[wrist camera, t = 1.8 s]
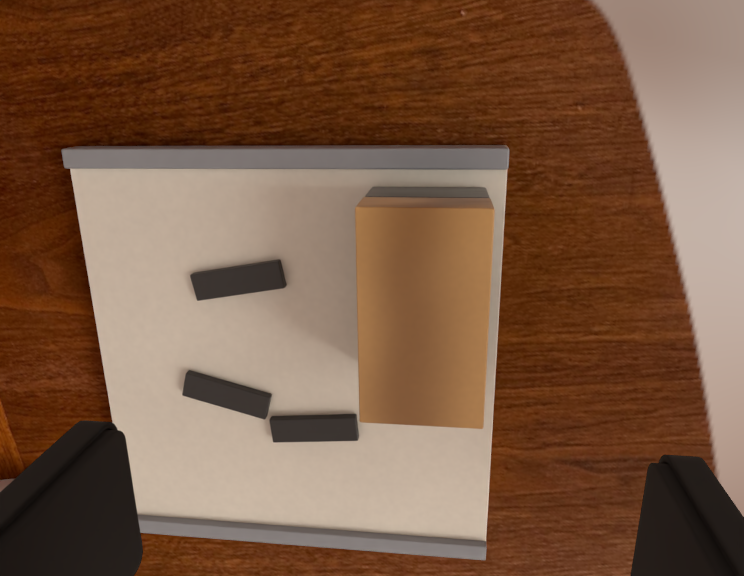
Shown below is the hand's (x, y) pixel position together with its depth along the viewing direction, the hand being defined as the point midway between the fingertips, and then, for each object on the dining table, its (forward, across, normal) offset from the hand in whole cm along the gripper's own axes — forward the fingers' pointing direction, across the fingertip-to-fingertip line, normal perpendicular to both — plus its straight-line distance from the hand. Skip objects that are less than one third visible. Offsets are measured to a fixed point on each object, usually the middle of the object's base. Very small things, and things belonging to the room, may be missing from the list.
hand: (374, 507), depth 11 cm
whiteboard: (+16, +6, +5) cm, 17 cm away
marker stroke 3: (+15, +4, +8) cm, 17 cm away
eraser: (+15, 0, 0) cm, 15 cm away
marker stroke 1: (+15, +8, +1) cm, 17 cm away
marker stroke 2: (+15, +8, +6) cm, 18 cm away
